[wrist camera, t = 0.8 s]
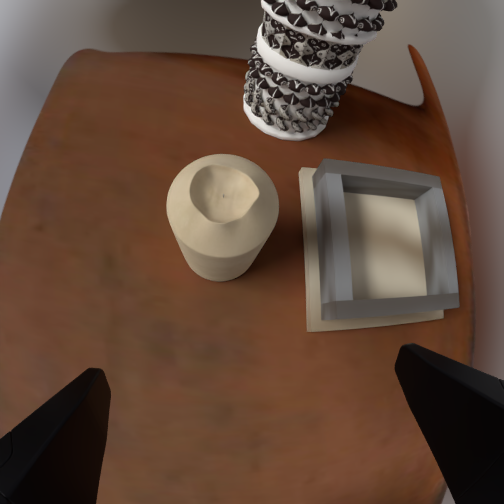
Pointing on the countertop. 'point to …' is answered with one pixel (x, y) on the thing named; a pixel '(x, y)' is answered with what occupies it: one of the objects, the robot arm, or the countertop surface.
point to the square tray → (375, 246)
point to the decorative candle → (306, 62)
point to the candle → (222, 214)
